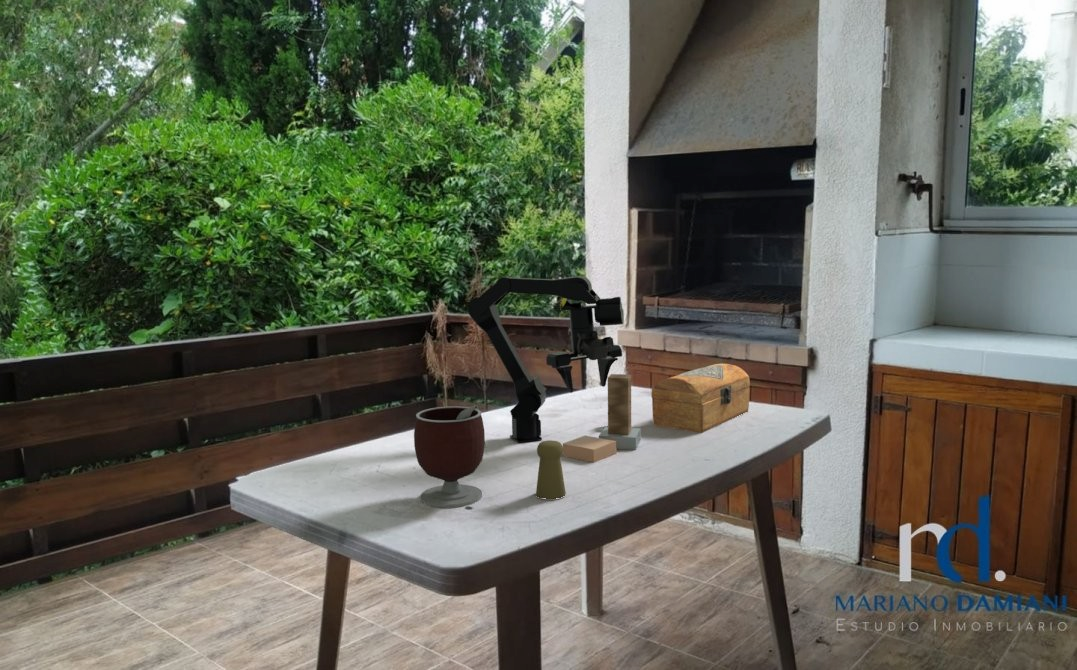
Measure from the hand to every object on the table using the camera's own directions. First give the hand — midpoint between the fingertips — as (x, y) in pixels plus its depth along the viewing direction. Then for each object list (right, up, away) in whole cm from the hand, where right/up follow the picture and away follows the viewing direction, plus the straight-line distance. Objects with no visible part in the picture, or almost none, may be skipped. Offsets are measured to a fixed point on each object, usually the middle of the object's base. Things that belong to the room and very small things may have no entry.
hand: (587, 389), depth 195 cm
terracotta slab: (0, -15, -10) cm, 18 cm away
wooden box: (+34, -10, +23) cm, 42 cm away
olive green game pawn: (-10, -19, -38) cm, 43 cm away
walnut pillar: (+8, -10, -2) cm, 13 cm away
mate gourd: (-29, -19, -39) cm, 52 cm away
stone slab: (+8, -13, -1) cm, 16 cm away
